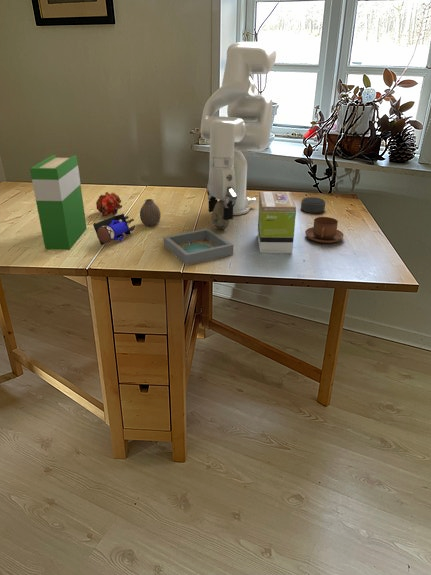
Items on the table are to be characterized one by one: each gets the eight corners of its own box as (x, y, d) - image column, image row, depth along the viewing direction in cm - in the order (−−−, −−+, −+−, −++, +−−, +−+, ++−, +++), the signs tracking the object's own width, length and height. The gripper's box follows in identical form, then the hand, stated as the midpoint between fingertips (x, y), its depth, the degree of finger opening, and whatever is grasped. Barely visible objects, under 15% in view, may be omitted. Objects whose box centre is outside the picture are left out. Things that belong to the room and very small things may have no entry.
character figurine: (140, 236, 142) (106, 251, 131) (123, 229, 145) (89, 244, 134) (139, 213, 138) (104, 227, 127) (122, 207, 141) (87, 221, 130)
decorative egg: (226, 233, 144) (226, 203, 139) (209, 230, 146) (209, 201, 141) (231, 227, 149) (232, 198, 144) (215, 225, 151) (215, 196, 146)
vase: (157, 229, 147) (155, 203, 143) (137, 227, 148) (135, 202, 144) (163, 222, 153) (162, 197, 149) (144, 220, 154) (142, 196, 150)
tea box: (256, 234, 143) (258, 190, 136) (287, 235, 143) (291, 190, 136) (258, 253, 130) (261, 205, 123) (292, 254, 130) (297, 206, 123)
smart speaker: (322, 215, 161) (324, 204, 159) (298, 212, 164) (299, 202, 162) (325, 208, 169) (326, 198, 167) (302, 205, 171) (303, 195, 169)
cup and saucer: (346, 246, 136) (349, 227, 133) (308, 245, 136) (310, 227, 133) (337, 232, 146) (340, 214, 143) (301, 231, 146) (303, 214, 143)
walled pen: (207, 237, 141) (207, 228, 139) (233, 254, 129) (233, 244, 128) (163, 246, 134) (163, 237, 133) (186, 265, 122) (186, 255, 121)
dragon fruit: (119, 212, 166) (106, 228, 156) (100, 199, 164) (85, 213, 155) (129, 197, 161) (116, 211, 151) (109, 182, 159) (95, 196, 150)
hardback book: (64, 228, 146) (52, 154, 135) (86, 228, 146) (76, 155, 135) (45, 249, 131) (29, 168, 120) (69, 249, 131) (56, 168, 119)
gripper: (247, 166, 132) (244, 221, 139) (218, 156, 145) (217, 207, 152) (225, 168, 128) (224, 224, 136) (197, 158, 141) (197, 210, 149)
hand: (220, 215), depth 144 cm, fingers open, 9 cm apart
